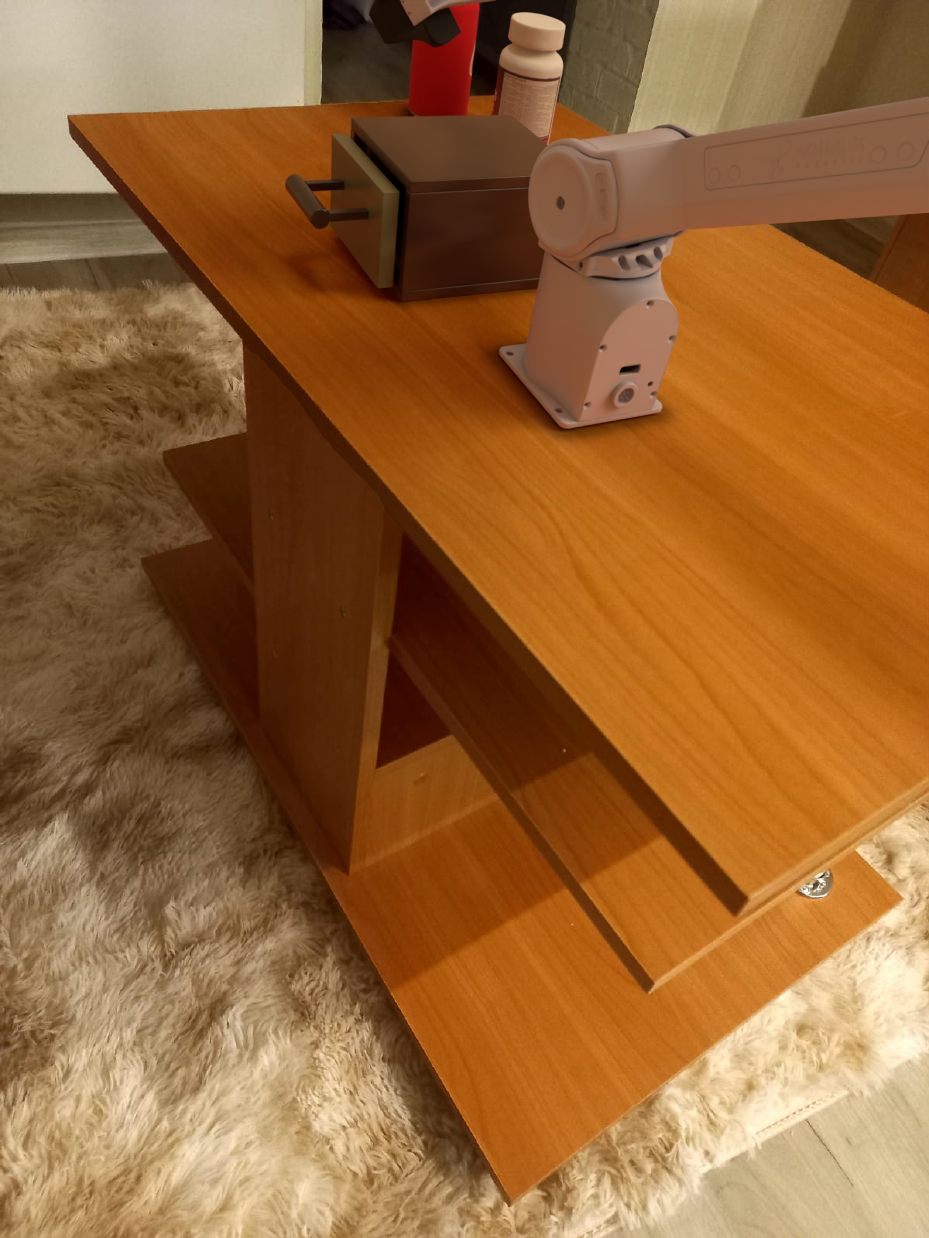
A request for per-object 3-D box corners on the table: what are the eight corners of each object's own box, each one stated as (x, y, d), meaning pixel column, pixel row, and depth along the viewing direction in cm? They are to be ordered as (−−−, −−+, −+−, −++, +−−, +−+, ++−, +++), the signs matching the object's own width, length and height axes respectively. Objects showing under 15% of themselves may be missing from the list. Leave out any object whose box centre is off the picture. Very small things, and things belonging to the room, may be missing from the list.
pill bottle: (498, 134, 91) (517, 6, 83) (554, 149, 90) (578, 21, 82) (478, 151, 87) (496, 18, 79) (536, 168, 86) (560, 35, 78)
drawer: (321, 294, 62) (322, 196, 57) (277, 229, 68) (274, 135, 63) (526, 274, 68) (543, 184, 63) (470, 216, 74) (481, 130, 69)
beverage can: (468, 114, 94) (484, -20, 85) (463, 133, 90) (479, -6, 81) (411, 104, 94) (422, -32, 85) (403, 123, 90) (413, -18, 81)
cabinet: (401, 302, 64) (411, 181, 58) (347, 232, 71) (351, 117, 65) (558, 286, 69) (583, 173, 63) (494, 222, 76) (511, 114, 70)
